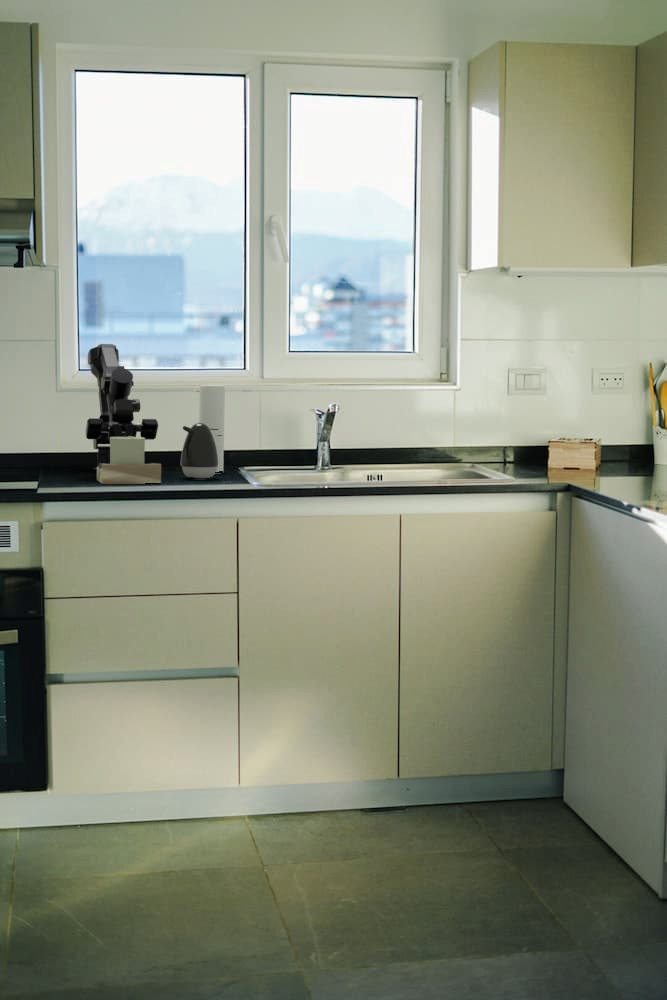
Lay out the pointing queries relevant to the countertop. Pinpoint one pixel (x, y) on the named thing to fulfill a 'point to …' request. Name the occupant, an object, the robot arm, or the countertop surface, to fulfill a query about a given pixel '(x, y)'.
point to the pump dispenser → (199, 452)
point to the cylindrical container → (213, 416)
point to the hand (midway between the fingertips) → (125, 452)
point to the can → (127, 450)
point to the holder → (129, 473)
